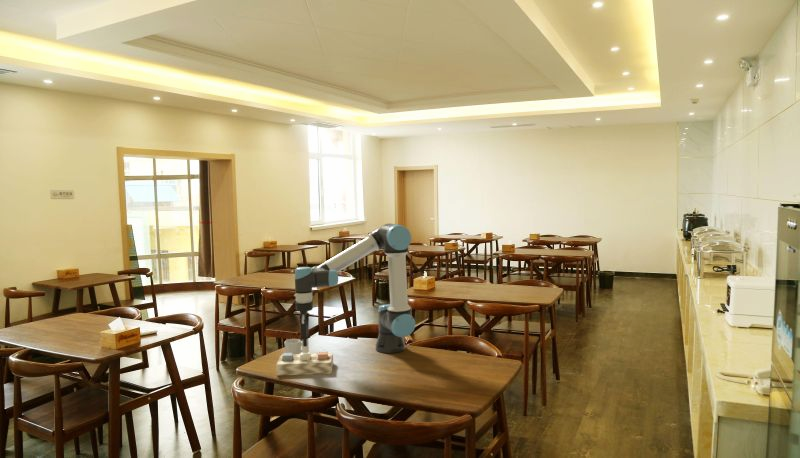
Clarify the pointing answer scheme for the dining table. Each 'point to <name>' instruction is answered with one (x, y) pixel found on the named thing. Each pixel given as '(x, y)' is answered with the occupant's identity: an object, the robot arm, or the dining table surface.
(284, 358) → the key slate
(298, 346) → the cup
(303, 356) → the key cream
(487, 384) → the dining table surface
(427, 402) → the dining table surface
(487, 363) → the dining table surface
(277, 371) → the console
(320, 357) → the key terracotta
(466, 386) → the dining table surface
